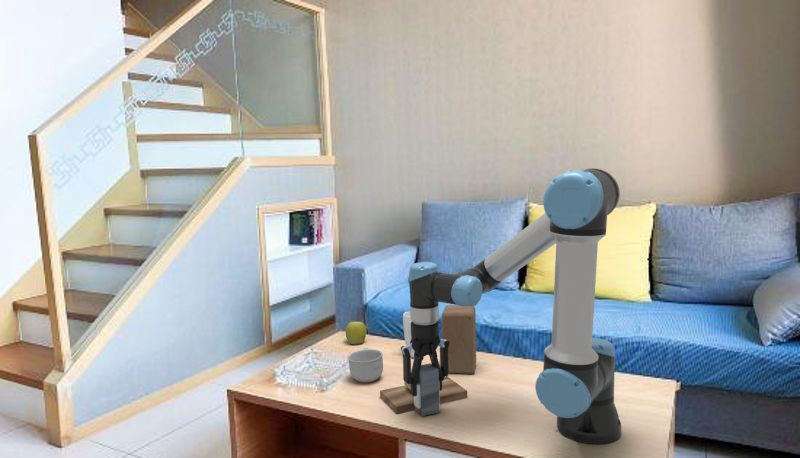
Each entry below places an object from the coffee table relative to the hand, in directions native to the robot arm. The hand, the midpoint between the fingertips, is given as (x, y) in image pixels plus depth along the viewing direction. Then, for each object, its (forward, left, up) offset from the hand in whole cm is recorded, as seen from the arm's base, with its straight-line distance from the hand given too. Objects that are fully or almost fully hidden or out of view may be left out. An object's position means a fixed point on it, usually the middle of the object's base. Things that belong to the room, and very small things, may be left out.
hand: (426, 404), depth 152 cm
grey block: (+5, 0, -2) cm, 6 cm away
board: (+9, -3, -2) cm, 9 cm away
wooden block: (+23, -23, -2) cm, 32 cm away
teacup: (+31, +6, -2) cm, 31 cm away
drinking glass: (+41, -15, -2) cm, 43 cm away
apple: (+64, -2, -2) cm, 64 cm away
